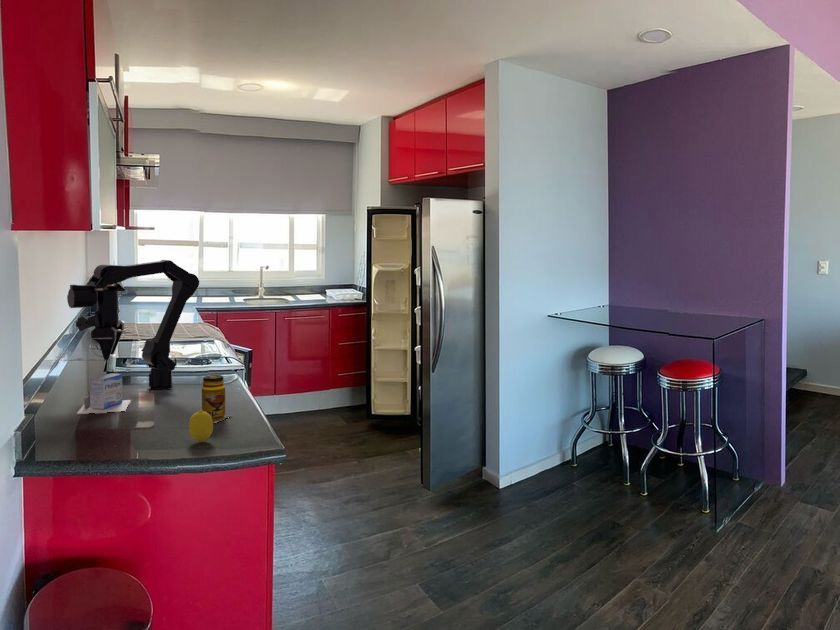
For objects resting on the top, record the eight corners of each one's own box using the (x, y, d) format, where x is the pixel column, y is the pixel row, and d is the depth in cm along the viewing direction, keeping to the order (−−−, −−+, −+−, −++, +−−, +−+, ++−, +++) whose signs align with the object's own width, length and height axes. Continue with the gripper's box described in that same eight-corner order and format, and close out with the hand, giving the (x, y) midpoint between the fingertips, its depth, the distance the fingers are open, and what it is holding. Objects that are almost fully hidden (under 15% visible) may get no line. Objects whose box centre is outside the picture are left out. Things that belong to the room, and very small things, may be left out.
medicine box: (103, 409, 168) (103, 379, 167) (89, 408, 169) (89, 378, 168) (122, 403, 176) (122, 374, 175) (109, 401, 177) (109, 372, 176)
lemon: (192, 438, 148) (192, 406, 147) (215, 438, 149) (215, 407, 148) (186, 446, 143) (185, 413, 142) (210, 446, 143) (209, 413, 142)
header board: (131, 401, 180) (130, 390, 180) (125, 411, 169) (124, 400, 168) (86, 403, 176) (85, 391, 176) (76, 414, 165) (76, 402, 165)
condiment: (216, 424, 160) (215, 380, 159) (189, 420, 163) (189, 377, 162) (232, 417, 167) (232, 374, 166) (206, 413, 170) (206, 371, 168)
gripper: (84, 303, 189) (86, 352, 191) (70, 309, 171) (72, 363, 173) (123, 303, 193) (124, 351, 194) (113, 309, 175) (115, 362, 177)
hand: (109, 357), depth 185 cm, fingers open, 9 cm apart
